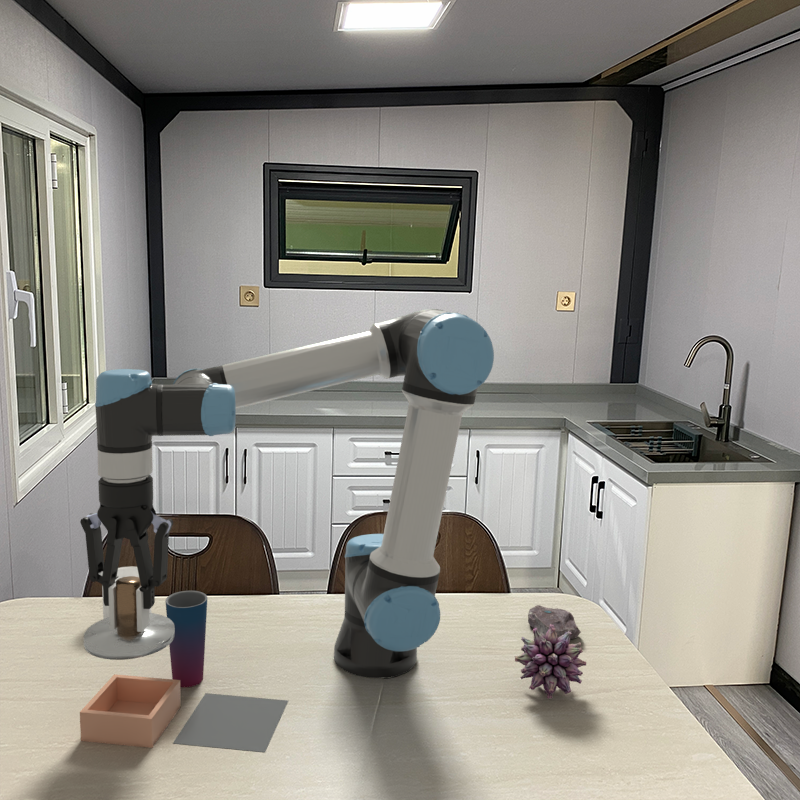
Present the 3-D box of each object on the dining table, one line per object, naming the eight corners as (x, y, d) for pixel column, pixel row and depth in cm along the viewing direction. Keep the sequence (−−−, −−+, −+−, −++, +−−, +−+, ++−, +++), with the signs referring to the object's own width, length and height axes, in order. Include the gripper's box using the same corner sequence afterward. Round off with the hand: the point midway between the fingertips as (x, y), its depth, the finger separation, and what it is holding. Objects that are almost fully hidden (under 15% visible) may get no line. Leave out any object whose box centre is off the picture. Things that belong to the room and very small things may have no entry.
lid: (187, 622, 126) (186, 567, 124) (153, 663, 113) (152, 602, 111) (109, 616, 127) (107, 561, 125) (66, 655, 114) (64, 595, 113)
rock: (553, 617, 165) (554, 596, 164) (585, 641, 155) (587, 620, 154) (519, 623, 162) (520, 602, 161) (550, 648, 152) (551, 626, 151)
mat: (288, 702, 130) (288, 700, 130) (264, 754, 116) (264, 752, 116) (205, 695, 132) (205, 693, 131) (172, 745, 118) (172, 743, 118)
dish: (180, 708, 127) (180, 680, 127) (152, 750, 117) (151, 718, 116) (115, 702, 128) (114, 674, 128) (81, 743, 118) (79, 712, 117)
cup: (197, 694, 132) (196, 609, 129) (159, 689, 133) (157, 604, 130) (215, 674, 138) (214, 593, 136) (178, 669, 140) (177, 588, 137)
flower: (561, 721, 127) (566, 652, 125) (499, 692, 135) (503, 627, 133) (597, 694, 136) (602, 629, 134) (537, 668, 144) (541, 606, 142)
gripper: (190, 472, 119) (192, 619, 123) (84, 466, 120) (89, 611, 124) (170, 486, 111) (173, 642, 115) (57, 479, 113) (64, 633, 117)
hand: (129, 626), depth 120 cm, fingers closed on lid, 4 cm apart
